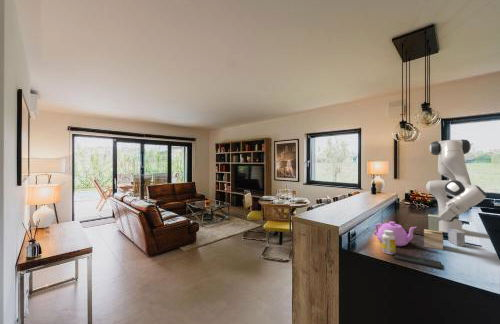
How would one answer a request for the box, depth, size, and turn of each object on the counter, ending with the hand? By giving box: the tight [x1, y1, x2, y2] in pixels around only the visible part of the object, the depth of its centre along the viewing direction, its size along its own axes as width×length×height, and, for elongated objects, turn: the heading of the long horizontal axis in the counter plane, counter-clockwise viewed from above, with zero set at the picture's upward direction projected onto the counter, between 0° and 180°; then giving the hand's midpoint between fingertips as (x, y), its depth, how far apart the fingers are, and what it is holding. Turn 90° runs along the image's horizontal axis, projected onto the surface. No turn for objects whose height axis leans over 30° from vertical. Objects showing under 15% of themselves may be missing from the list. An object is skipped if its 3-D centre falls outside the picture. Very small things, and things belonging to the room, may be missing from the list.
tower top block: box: [423, 228, 444, 244], centre depth 137 cm, size 9×9×4 cm
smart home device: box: [393, 252, 443, 270], centre depth 116 cm, size 8×2×20 cm
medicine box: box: [447, 229, 466, 247], centre depth 139 cm, size 8×4×9 cm, turn 168°
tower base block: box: [423, 239, 444, 251], centre depth 137 cm, size 9×9×4 cm
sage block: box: [427, 214, 439, 232], centre depth 136 cm, size 5×5×9 cm
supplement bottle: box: [381, 230, 397, 255], centre depth 128 cm, size 7×7×13 cm
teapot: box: [374, 220, 417, 247], centre depth 143 cm, size 25×18×14 cm
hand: (434, 220), depth 136 cm, fingers closed on sage block, 5 cm apart
